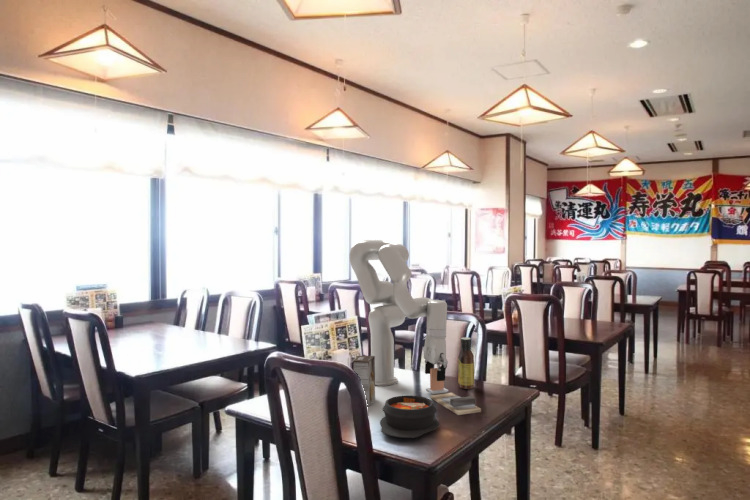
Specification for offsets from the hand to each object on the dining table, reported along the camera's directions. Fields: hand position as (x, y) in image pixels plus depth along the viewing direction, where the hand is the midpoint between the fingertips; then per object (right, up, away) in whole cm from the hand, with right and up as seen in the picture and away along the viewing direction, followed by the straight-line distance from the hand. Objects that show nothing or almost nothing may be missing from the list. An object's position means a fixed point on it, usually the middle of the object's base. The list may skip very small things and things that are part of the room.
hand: (434, 377), depth 196 cm
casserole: (-12, -7, -36) cm, 39 cm away
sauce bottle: (+14, -7, +8) cm, 17 cm away
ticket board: (+6, -7, -13) cm, 16 cm away
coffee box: (-27, -7, -10) cm, 29 cm away
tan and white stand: (+1, -5, -1) cm, 5 cm away
